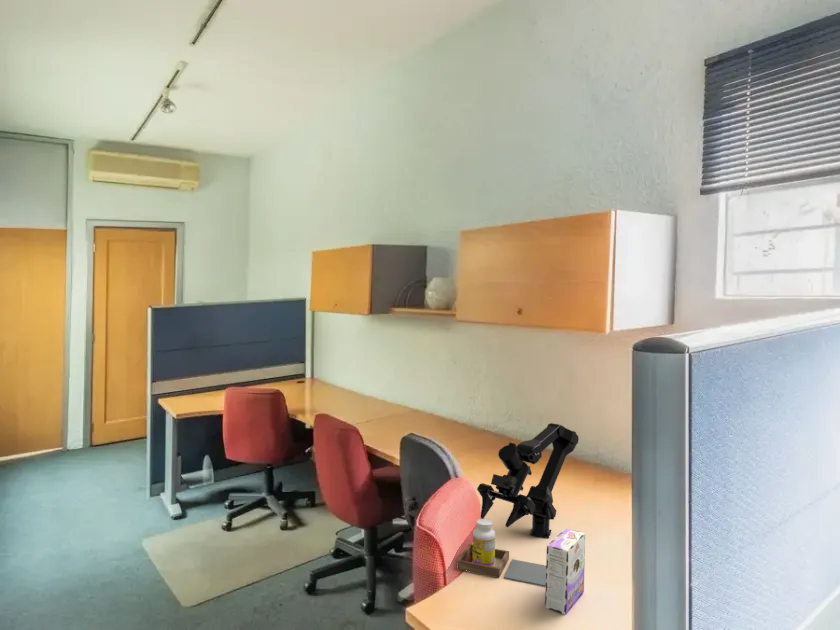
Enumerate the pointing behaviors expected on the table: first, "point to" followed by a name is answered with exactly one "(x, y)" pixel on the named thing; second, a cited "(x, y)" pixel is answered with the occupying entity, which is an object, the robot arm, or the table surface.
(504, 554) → the square frame
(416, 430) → the table surface
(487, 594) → the table surface
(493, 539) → the supplement bottle
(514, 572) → the mat
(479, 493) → the robot arm
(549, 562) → the candy box
